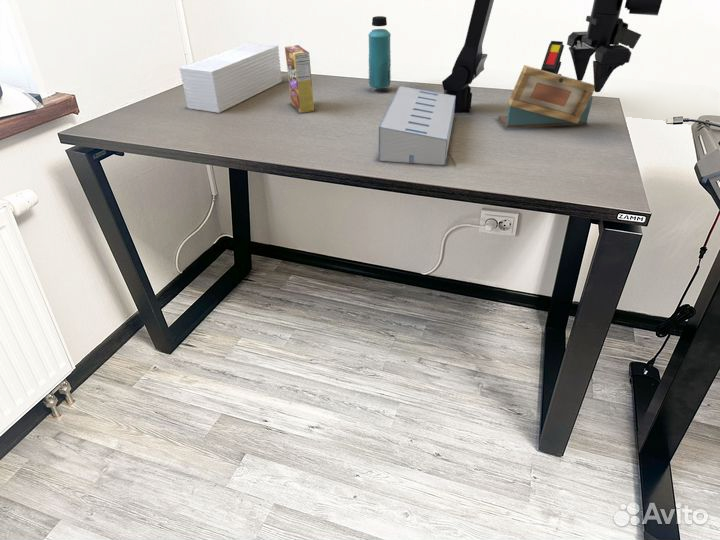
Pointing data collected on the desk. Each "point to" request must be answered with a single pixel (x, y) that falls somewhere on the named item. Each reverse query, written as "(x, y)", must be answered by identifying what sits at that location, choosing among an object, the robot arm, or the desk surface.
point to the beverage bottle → (379, 54)
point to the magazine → (553, 57)
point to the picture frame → (551, 94)
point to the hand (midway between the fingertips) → (588, 86)
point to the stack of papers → (231, 76)
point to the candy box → (299, 78)
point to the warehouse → (417, 127)
